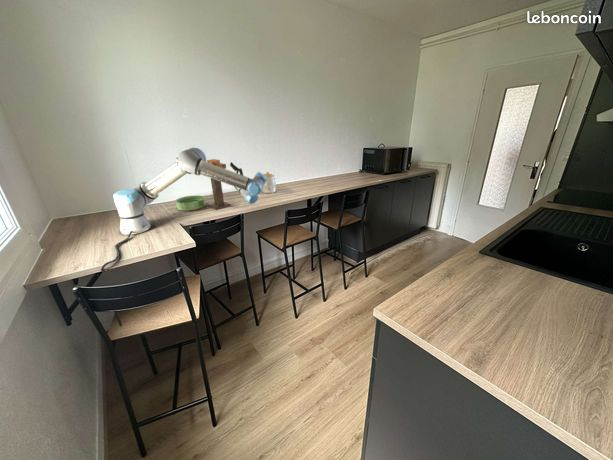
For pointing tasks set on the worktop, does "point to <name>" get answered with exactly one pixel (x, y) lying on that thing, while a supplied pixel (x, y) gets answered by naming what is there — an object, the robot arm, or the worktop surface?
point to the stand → (218, 195)
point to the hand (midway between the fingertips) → (222, 165)
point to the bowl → (190, 203)
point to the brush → (216, 163)
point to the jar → (269, 184)
